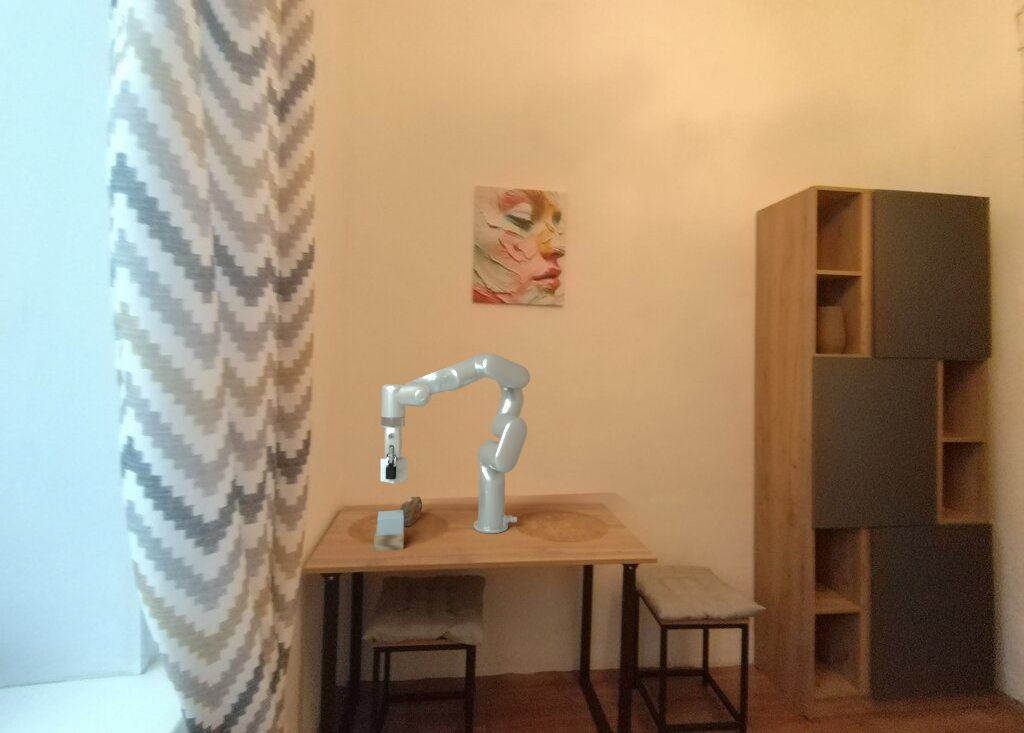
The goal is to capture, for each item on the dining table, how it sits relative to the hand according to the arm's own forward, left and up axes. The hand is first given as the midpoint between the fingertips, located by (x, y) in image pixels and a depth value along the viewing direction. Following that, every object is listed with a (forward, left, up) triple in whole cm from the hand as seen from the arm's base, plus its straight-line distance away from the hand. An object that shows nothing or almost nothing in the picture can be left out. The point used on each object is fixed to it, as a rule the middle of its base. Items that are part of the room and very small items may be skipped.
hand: (391, 475), depth 145 cm
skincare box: (-1, 0, -2) cm, 2 cm away
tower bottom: (0, 0, -23) cm, 23 cm away
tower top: (0, 0, -18) cm, 18 cm away
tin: (-6, -20, -23) cm, 31 cm away
